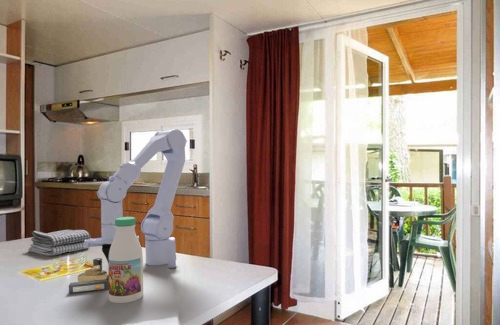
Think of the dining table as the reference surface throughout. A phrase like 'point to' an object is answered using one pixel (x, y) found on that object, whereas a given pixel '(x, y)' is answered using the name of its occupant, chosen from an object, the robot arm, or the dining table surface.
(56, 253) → the towel
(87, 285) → the stand base
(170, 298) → the dining table surface
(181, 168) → the robot arm
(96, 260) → the tan piece
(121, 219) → the milk bottle
